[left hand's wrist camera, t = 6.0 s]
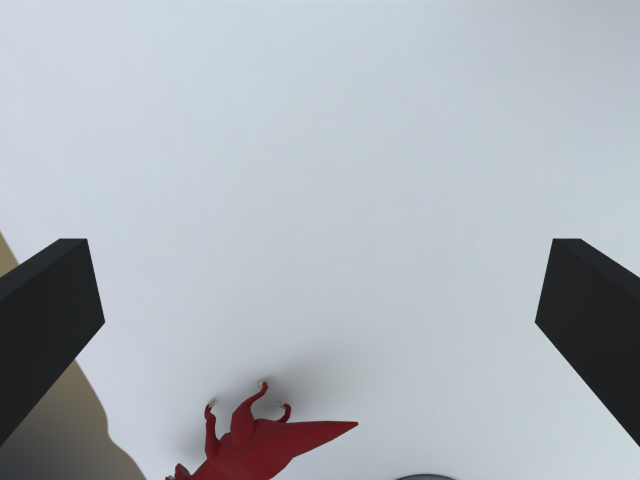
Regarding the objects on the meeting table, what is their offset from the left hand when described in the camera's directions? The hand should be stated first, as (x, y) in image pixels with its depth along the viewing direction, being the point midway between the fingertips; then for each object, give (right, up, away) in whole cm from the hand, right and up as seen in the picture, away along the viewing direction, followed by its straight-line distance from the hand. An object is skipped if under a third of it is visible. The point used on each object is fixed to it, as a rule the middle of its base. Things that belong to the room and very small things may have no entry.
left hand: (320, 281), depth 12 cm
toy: (-7, -17, +37) cm, 42 cm away
